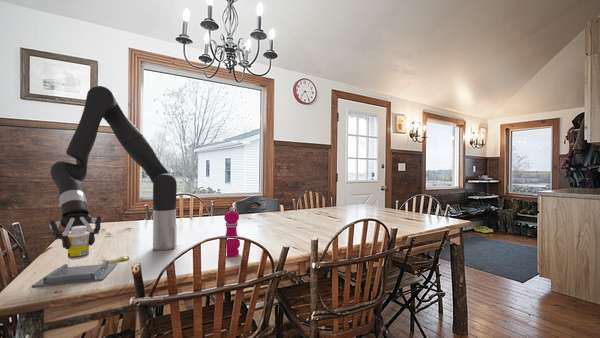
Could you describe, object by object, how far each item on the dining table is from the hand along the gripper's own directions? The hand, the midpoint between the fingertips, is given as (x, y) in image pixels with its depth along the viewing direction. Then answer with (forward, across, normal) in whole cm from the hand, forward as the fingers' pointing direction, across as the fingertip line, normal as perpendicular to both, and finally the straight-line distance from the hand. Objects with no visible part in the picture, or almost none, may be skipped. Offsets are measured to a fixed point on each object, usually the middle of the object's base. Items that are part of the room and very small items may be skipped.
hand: (79, 245), depth 88 cm
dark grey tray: (+6, 0, +8) cm, 10 cm away
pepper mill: (+19, +47, -6) cm, 51 cm away
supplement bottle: (+2, 0, +4) cm, 5 cm away
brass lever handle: (+2, +13, +12) cm, 18 cm away
